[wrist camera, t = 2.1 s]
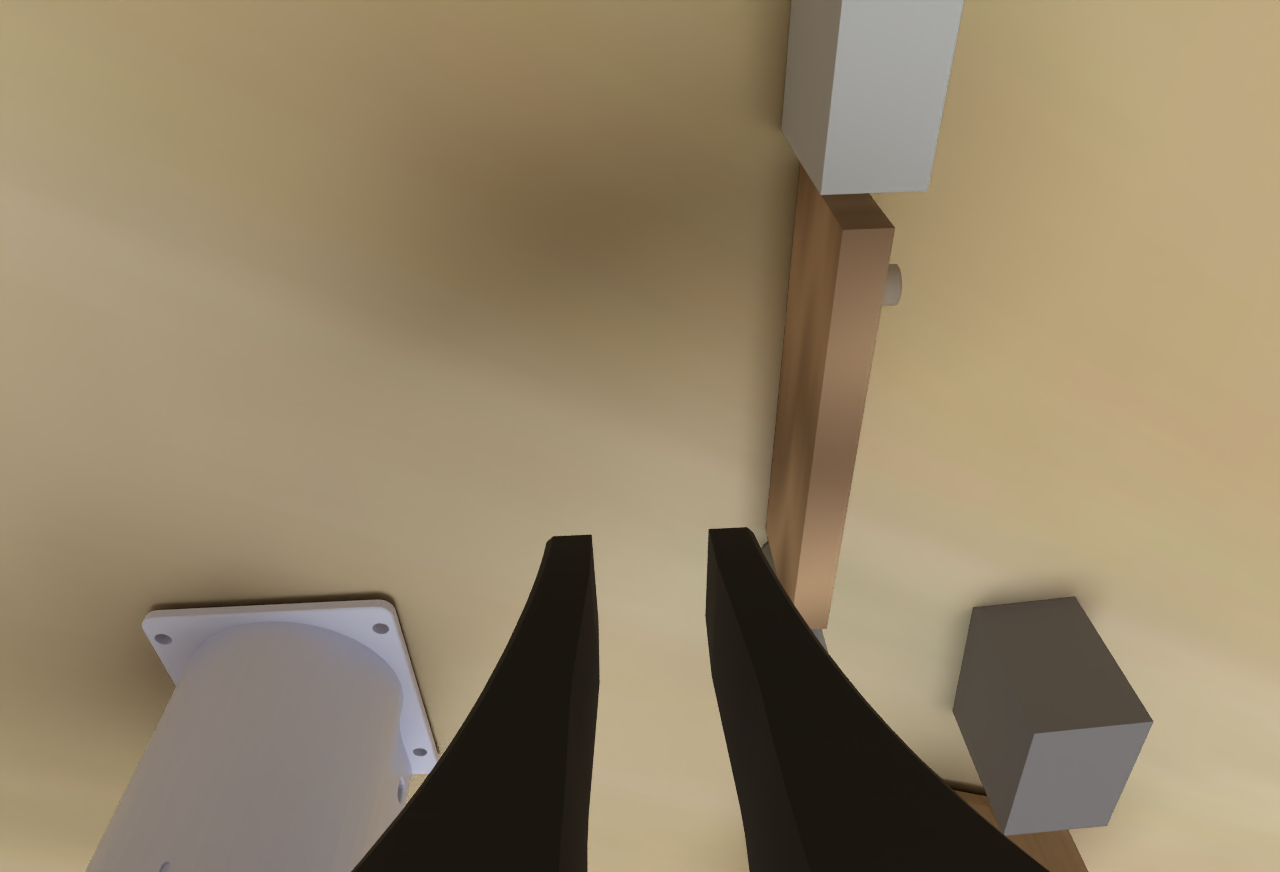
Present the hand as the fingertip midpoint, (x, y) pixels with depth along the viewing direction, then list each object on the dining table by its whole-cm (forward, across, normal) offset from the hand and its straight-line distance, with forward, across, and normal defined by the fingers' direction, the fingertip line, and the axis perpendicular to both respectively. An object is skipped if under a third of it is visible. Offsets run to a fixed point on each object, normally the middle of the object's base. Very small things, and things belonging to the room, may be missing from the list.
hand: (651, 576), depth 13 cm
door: (+9, -5, +2) cm, 11 cm away
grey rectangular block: (+10, -14, +15) cm, 22 cm away
